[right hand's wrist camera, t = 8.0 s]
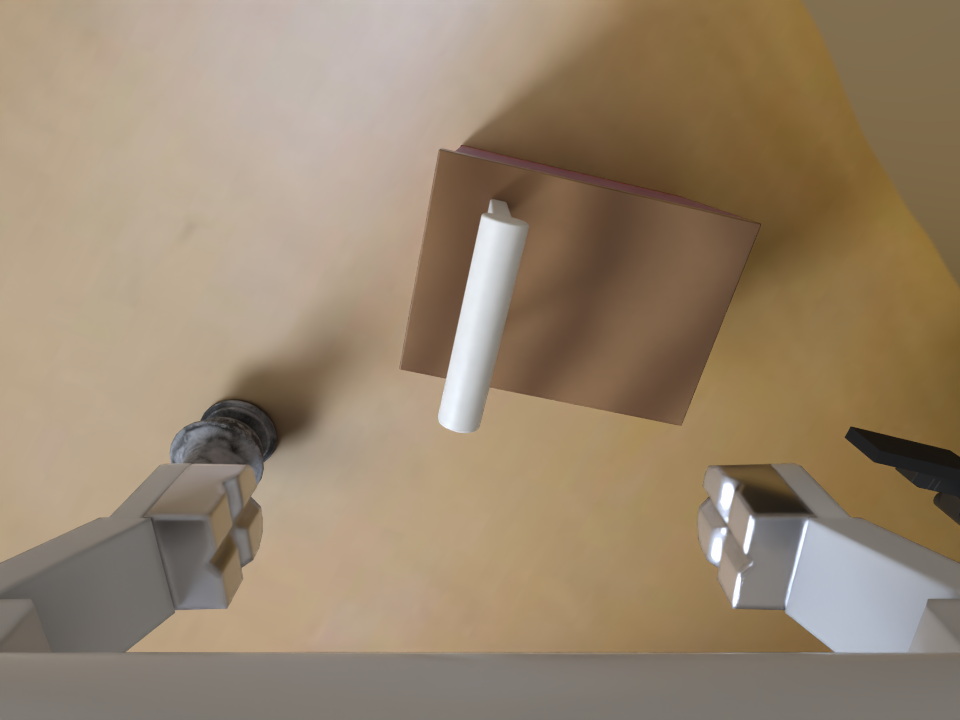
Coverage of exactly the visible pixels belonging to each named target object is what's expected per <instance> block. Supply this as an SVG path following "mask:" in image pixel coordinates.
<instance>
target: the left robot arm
mask: <svg viewBox="0 0 960 720" xmlns="http://www.w3.org/2000/svg"><path fill="white" fill-rule="evenodd" d="M845 438H846V439H847V440H848V441H850V442H851V443H852V444H853V445H854V446H855V447H857V448H858V449H859V450H860V451H861V452H863V453H864V454H865V455H866V456H867V457H868V458H870V459H871V460H872V461H873V462H876V463H880V464H884V465H888V466H893V467H896V468H895V469H896V470H897V471H898V472H900V473H901V474H902V475H903V476H905V477H906V478H907V479H908V480H909V481H911V482H912V483H913V484H914V485H916V486H917V487H919V488H924V489H928V490H932V491H937V492H939V493H938V494H936V496H935V497H934V500H933V501H934V504H935V505H936V506H937V507H938V508H940V509H941V510H942V511H943V512H944V513H946V514H947V515H948V516H949V517H950V518H952V519H953V520H954V521H955V522H957V523H958V524H959V525H960V457H959V456H957V455H956V454H955V453H953V452H952V451H950V450H946V449H942V448H938V447H934V446H930V445H926V444H921V443H917V442H913V441H909V440H905V439H901V438H896V437H892V436H888V435H884V434H880V433H876V432H872V431H867V430H863V429H859V428H855V427H850V429H849V431H848V432H847V434H846V436H845Z"/></svg>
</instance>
